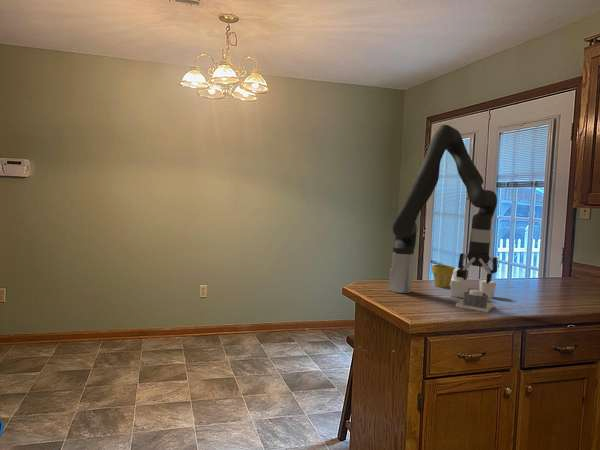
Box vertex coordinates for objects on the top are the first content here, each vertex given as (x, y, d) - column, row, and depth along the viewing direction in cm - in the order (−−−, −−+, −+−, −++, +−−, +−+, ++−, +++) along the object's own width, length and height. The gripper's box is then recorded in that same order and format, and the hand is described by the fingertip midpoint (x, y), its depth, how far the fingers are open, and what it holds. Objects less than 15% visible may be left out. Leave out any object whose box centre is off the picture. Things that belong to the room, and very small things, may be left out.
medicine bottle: (467, 295, 202) (469, 268, 201) (467, 298, 195) (469, 271, 194) (450, 293, 204) (452, 267, 204) (450, 296, 198) (452, 269, 197)
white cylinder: (496, 299, 197) (497, 283, 197) (479, 297, 199) (480, 281, 198) (493, 295, 204) (494, 280, 203) (476, 294, 205) (478, 279, 205)
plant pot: (427, 283, 225) (428, 264, 224) (447, 284, 226) (448, 264, 226) (435, 288, 215) (437, 267, 214) (456, 288, 216) (458, 268, 215)
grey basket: (455, 306, 179) (456, 293, 179) (462, 301, 189) (463, 289, 189) (488, 312, 173) (489, 298, 172) (493, 306, 183) (494, 293, 183)
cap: (467, 303, 180) (468, 291, 180) (469, 301, 184) (470, 289, 184) (480, 305, 178) (481, 293, 177) (482, 303, 182) (484, 291, 181)
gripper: (501, 242, 178) (497, 282, 179) (463, 238, 186) (460, 277, 187) (497, 243, 172) (493, 285, 173) (458, 239, 180) (455, 279, 181)
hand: (476, 281), depth 180 cm, fingers open, 8 cm apart
